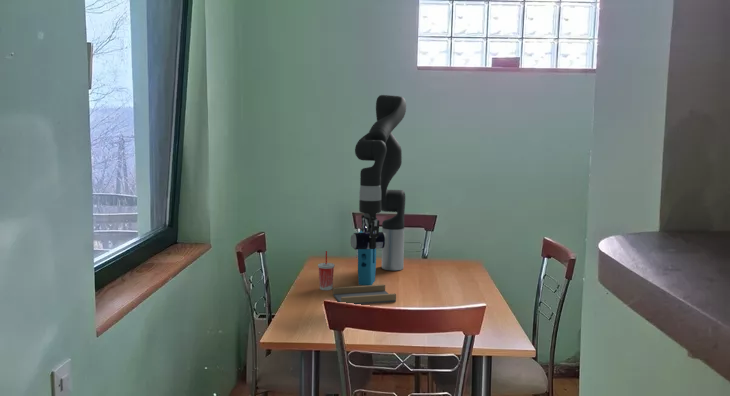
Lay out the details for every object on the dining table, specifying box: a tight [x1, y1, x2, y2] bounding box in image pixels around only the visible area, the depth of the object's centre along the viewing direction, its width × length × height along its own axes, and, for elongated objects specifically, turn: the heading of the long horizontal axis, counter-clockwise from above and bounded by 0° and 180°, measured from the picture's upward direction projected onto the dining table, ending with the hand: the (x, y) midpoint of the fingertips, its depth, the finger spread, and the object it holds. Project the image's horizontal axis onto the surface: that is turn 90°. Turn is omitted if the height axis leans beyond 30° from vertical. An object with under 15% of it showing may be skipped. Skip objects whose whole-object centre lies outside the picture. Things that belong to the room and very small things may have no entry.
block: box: [357, 229, 377, 286], centre depth 232 cm, size 12×5×20 cm, turn 168°
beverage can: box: [350, 231, 388, 251], centre depth 209 cm, size 6×6×12 cm
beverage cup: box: [317, 250, 335, 291], centre depth 223 cm, size 6×6×14 cm
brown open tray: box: [332, 284, 397, 305], centre depth 211 cm, size 13×19×3 cm
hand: (369, 246), depth 210 cm, fingers closed on beverage can, 5 cm apart
